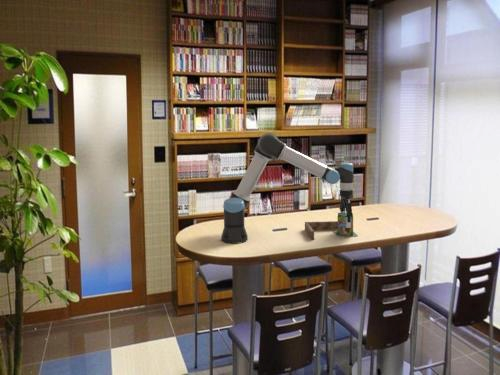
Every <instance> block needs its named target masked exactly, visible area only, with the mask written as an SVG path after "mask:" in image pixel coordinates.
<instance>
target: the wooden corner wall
mask: <svg viewBox="0 0 500 375" xmlns="http://www.w3.org/2000/svg"><path fill="white" fill-rule="evenodd" d="M304 231H305V232H306V234H307V235H308V237H309V239H310V240H311V241H314V240H315V231H338V220H335V221H333V220H331V221H329V220H328V221H327V220H326V221H325V220H324V221H304Z"/></svg>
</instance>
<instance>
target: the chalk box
mask: <svg viewBox="0 0 500 375" xmlns="http://www.w3.org/2000/svg"><path fill="white" fill-rule="evenodd" d="M345 210H346V208H345V209H344V213H340V212H337V221H338V230H336V231H337V234H338V235H353V231H354V213H353V212H352V216H351V228H346V215H347V214H346V211H345Z"/></svg>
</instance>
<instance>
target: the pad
mask: <svg viewBox="0 0 500 375" xmlns="http://www.w3.org/2000/svg"><path fill="white" fill-rule="evenodd" d="M337 231H338V230H332V232H333V233H334V234H335V236H336V237H337V238H340V237H341V238H342V237H343V238H344V237H348V238H349V237H358V234H357V233H356V232H355V231H354V230H353V235H338V234H337Z"/></svg>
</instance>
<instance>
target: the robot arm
mask: <svg viewBox="0 0 500 375" xmlns="http://www.w3.org/2000/svg"><path fill="white" fill-rule="evenodd" d="M253 151H254V155H253V157H252V160H251V162H250V164H249V165H248V167H247V169H246V171H245V173H244V175H243V177H242V179H241V181H240V183H239V184H238V186H237V189H235V190H233V191H232V193H231V195H230V196H229V198H226V199H225V200H224V201H223V204H222V205H223V206H222V208H223V229H222V232H221V236H220V238H221V239H220V240H221V242H223V241H225V242H224V243H226V242H242V243H244V242H243V241H245V242H247V241H248V239H249V238H248V233H247V230H246V227H245V212H246V209H247V208H248V205H249V203H250V201H251V198H250V196H251V195H252V193H253V190H254V189H255V187H256V185H257V183H258V181H259V180H260V178H261V176H262V174H263V172H264V170H265V168H266V166H267V164H268V162H269V161H272V160H273V158H274V159H276V160H283V161H284V162H287V163H289V164H290V165H293V166H295V167H298V168H300V169H301V170H303V171H306V172H308V173H310V174H312V175H313V176H316V177H318V178H319V179H320V180H324V181H326V182H327V183H329V184H331V185H335V184H337V183H338V182H339V196H340V203H339V211H340V212H339V213H344V209H345V213H346V214H347V215H346V228H351V216H352V213H353V210H352V199H350V198H351V197H353V194H354V193H353V192H354V191H353V187H354V185H355V184H354V164H353V163H351V162H341V163H340V164H339V166H328V165H326V164H324V163H322V162H319V161H318V160H315V159H313V158H311V157H309V156H307V155H305V154H303V153H301V152H299V151H297V150H295V149H293V148H291V147H289V146H287V144H286V143H285V142H283V141H281V140H280V139H279V138H278V137H277V135H276V134H274V133H271V132H267V133H264V134H262V135H261V136H260V138H259V139H258V142H257V144H256V146H255V148H254V150H253ZM246 240H247V241H246Z"/></svg>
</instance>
